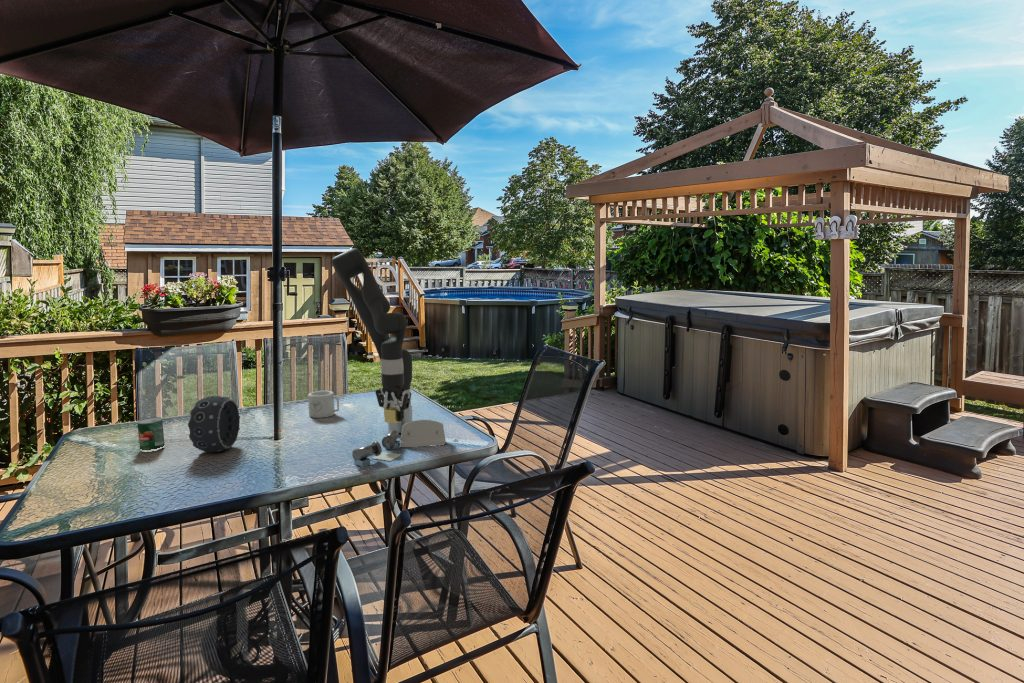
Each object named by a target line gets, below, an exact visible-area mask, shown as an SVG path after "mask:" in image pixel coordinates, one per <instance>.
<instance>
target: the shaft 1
mask: <svg viewBox="0 0 1024 683" xmlns="http://www.w3.org/2000/svg"><path fill="white" fill-rule="evenodd" d="M382 452H383V451H382V445H381V443H380V442H379V441H374V442H371V444H370V445H367V446H363V447H360V448H356V449H353V450H352V452H351V453H352V454H351V455H352V458H353V462H354V463H353V464H354V465H355V466H357V465H358V466H357V467H360V466H361V467H360V468H362V467H363V468H366V467H369V466H371V458H369V457H374V456H379V455H380V454H381V453H382ZM368 465H369V466H368ZM365 466H366V467H365Z"/></svg>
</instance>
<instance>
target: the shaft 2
mask: <svg viewBox="0 0 1024 683" xmlns="http://www.w3.org/2000/svg"><path fill="white" fill-rule="evenodd" d="M399 437H400V434H398V432H397V431H395V430H392V431H391V432H388V434H387V435H385V436H384V437H383V438H382V440H381V447H383V448H384V449H385V450H399V449H400V448H401V444H400V441H401V440H398V439H399ZM399 447H400V448H399Z"/></svg>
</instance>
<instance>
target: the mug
mask: <svg viewBox="0 0 1024 683" xmlns="http://www.w3.org/2000/svg"><path fill="white" fill-rule="evenodd" d="M307 398H308V399H307V402H308V416H309V417H310V418H313V419H325V418H330V417H332V416H334V415H335V413H336V412H338V411H340V402H339V401H340V399H339V397H338V396H335V393H334V392H333V391H331V390H316V391H312V392H309V393H308V394H307ZM335 399H336V405H337V406H336V407H337V409H335V408H336V407H335ZM329 416H330V417H329ZM324 417H325V418H324Z"/></svg>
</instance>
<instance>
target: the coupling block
mask: <svg viewBox="0 0 1024 683" xmlns="http://www.w3.org/2000/svg"><path fill="white" fill-rule="evenodd" d="M397 411H398V410H397V407H395V406H392V407H389V408H386V409H383V413H384V412H385V417H384V422H385V423H387V424H388V423H395V424H396V423H398V419H397ZM403 420H404V419H403ZM403 420H402V421H403ZM400 422H401V421H400Z"/></svg>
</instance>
